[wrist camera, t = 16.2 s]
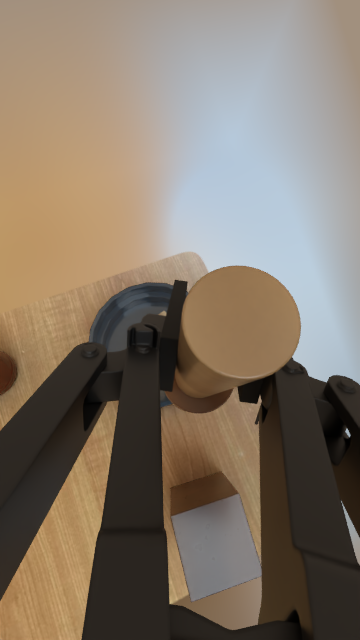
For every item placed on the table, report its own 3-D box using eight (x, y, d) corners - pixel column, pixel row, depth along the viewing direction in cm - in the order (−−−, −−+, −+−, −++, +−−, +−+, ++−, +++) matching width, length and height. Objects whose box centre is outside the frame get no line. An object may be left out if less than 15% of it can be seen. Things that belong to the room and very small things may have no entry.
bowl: (192, 284, 53) (195, 270, 48) (226, 388, 48) (233, 386, 43) (87, 310, 51) (77, 299, 46) (110, 422, 46) (102, 424, 41)
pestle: (215, 339, 23) (293, 217, 8) (236, 401, 21) (372, 386, 7) (154, 356, 22) (124, 258, 8) (172, 421, 21) (175, 449, 6)
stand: (221, 471, 44) (239, 493, 33) (238, 530, 42) (264, 575, 31) (170, 488, 44) (170, 516, 32) (185, 549, 41) (191, 602, 30)
